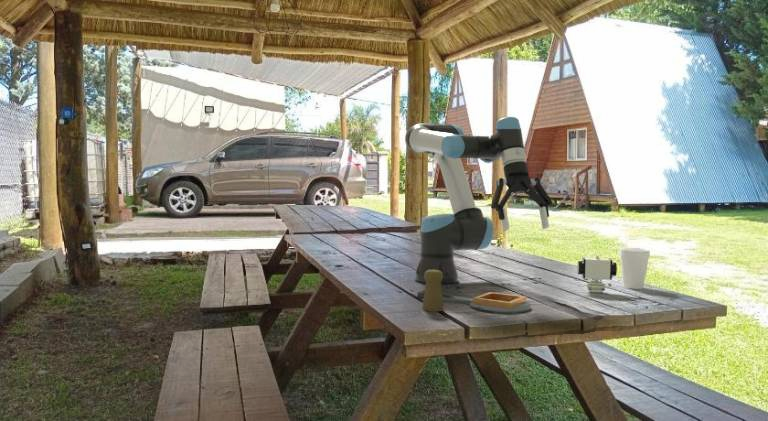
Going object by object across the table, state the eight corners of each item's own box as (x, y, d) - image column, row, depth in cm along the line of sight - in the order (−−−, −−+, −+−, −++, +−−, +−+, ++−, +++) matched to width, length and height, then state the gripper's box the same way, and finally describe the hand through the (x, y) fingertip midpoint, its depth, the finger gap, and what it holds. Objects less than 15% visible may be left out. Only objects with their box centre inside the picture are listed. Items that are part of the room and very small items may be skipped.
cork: (446, 307, 178) (446, 269, 177) (440, 312, 172) (441, 272, 171) (425, 306, 180) (426, 267, 179) (419, 310, 174) (420, 270, 173)
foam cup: (634, 290, 208) (635, 251, 208) (612, 285, 217) (613, 248, 216) (654, 288, 213) (655, 250, 212) (632, 284, 221) (633, 247, 220)
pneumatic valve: (616, 294, 201) (617, 257, 200) (577, 292, 203) (579, 255, 203) (613, 291, 206) (614, 255, 206) (576, 289, 209) (577, 253, 208)
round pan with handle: (538, 305, 182) (539, 296, 182) (516, 316, 168) (516, 306, 168) (434, 291, 201) (434, 283, 201) (406, 300, 187) (406, 291, 187)
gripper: (483, 160, 193) (494, 227, 187) (555, 159, 200) (568, 223, 194) (474, 169, 200) (484, 233, 194) (543, 167, 207) (555, 230, 201)
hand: (526, 229), depth 194 cm, fingers open, 13 cm apart
